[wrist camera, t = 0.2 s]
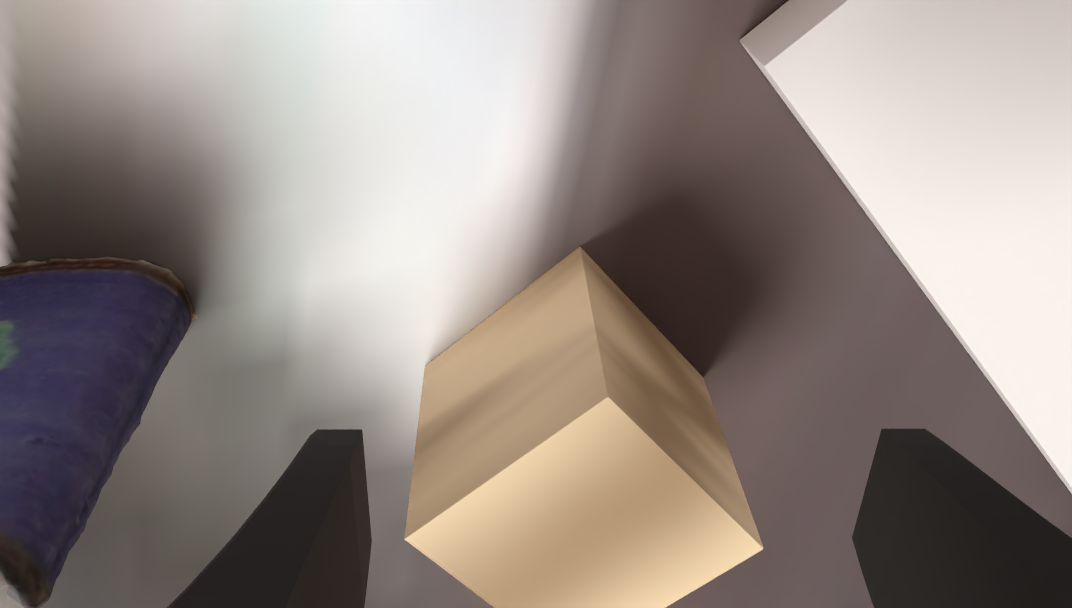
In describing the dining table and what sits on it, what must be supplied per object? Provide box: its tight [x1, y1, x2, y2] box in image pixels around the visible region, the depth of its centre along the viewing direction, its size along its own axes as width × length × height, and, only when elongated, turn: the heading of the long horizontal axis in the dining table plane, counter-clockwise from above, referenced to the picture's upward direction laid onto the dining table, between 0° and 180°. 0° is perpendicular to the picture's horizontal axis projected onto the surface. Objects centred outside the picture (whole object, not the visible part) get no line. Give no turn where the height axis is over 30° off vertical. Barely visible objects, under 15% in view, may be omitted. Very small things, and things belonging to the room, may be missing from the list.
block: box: [405, 246, 764, 608], centre depth 20 cm, size 5×5×6 cm
